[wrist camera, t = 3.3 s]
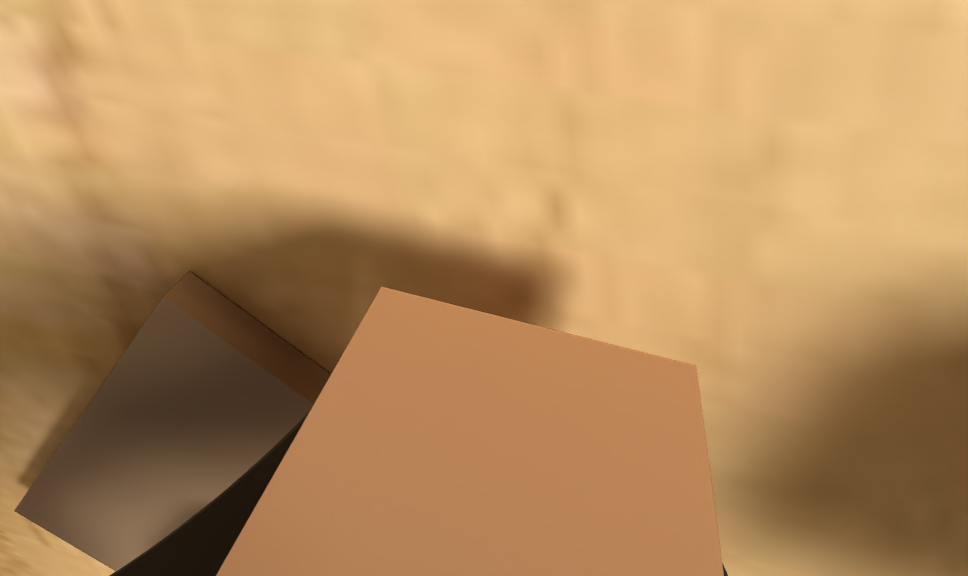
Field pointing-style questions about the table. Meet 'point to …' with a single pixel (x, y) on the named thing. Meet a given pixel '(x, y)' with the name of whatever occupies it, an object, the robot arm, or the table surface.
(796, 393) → the table surface
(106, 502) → the duct board
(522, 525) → the duct sleeve
